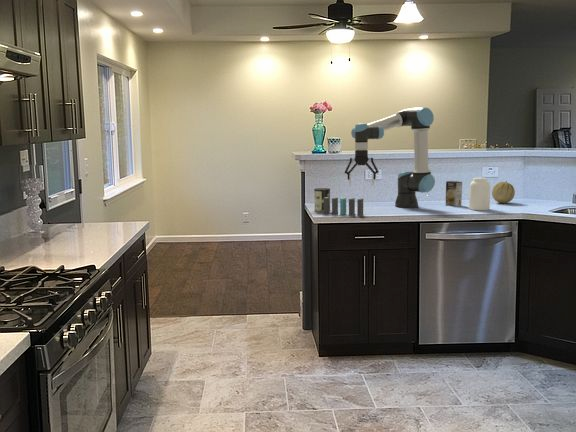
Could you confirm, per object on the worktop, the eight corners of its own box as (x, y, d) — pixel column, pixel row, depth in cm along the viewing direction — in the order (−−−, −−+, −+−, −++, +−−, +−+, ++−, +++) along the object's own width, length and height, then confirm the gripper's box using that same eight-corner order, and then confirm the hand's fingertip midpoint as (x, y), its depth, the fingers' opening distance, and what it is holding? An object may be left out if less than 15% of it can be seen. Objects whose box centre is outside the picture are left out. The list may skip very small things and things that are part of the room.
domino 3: (354, 214, 375) (354, 198, 374) (351, 215, 371) (351, 199, 369) (351, 214, 376) (351, 198, 375) (348, 215, 372) (348, 198, 370)
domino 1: (329, 213, 382) (329, 197, 381) (326, 214, 378) (326, 198, 376) (326, 212, 383) (326, 197, 382) (323, 214, 379) (323, 198, 377)
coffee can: (331, 209, 399) (331, 188, 397) (329, 211, 389) (329, 189, 387) (315, 209, 401) (315, 188, 399) (313, 211, 391) (313, 189, 389)
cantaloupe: (488, 203, 415) (489, 181, 413) (495, 201, 427) (495, 179, 425) (511, 204, 407) (512, 182, 405) (517, 202, 419) (517, 180, 417)
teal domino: (346, 213, 378) (346, 197, 376) (343, 215, 373) (343, 198, 372) (343, 213, 378) (343, 197, 377) (340, 214, 374) (340, 198, 373)
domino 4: (363, 214, 373) (363, 198, 371) (360, 215, 368) (360, 199, 367) (360, 214, 374) (360, 198, 372) (357, 215, 369) (357, 199, 368)
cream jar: (472, 207, 397) (473, 176, 394) (492, 208, 390) (493, 177, 387) (466, 209, 387) (466, 178, 384) (485, 211, 380) (486, 179, 377)
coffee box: (444, 205, 412) (445, 181, 410) (451, 204, 416) (451, 180, 413) (455, 206, 405) (456, 182, 402) (462, 205, 408) (462, 181, 406)
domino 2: (338, 213, 380) (337, 197, 379) (335, 214, 376) (334, 198, 374) (335, 213, 381) (334, 197, 379) (332, 214, 376) (331, 198, 375)
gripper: (382, 149, 367) (382, 184, 370) (340, 149, 371) (341, 184, 374) (382, 149, 360) (382, 185, 363) (340, 150, 363) (340, 185, 366)
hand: (361, 185), depth 368 cm, fingers open, 13 cm apart
